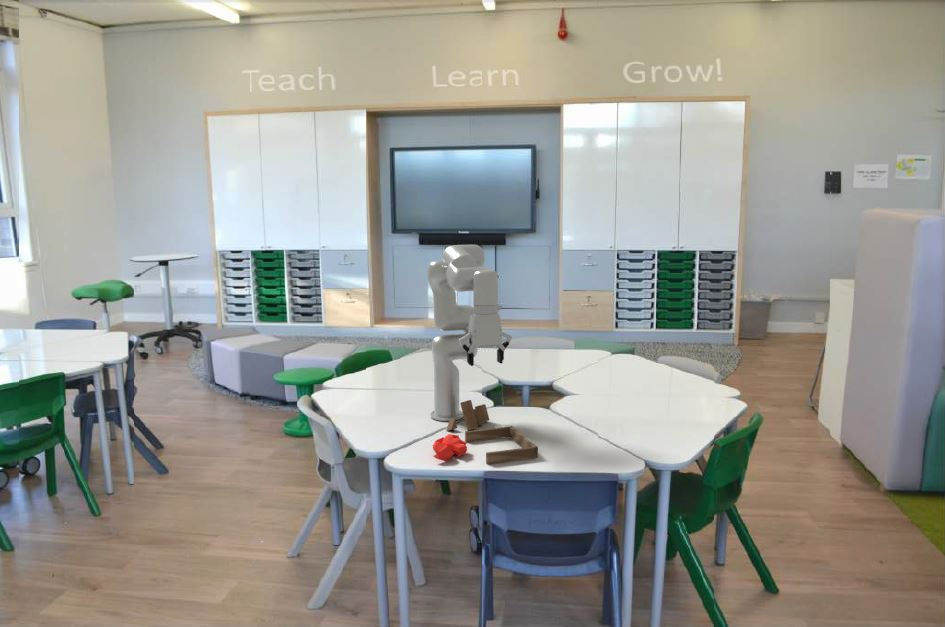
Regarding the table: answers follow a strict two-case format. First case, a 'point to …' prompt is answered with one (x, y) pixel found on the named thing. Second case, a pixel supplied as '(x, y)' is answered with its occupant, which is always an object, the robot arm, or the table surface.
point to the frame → (505, 455)
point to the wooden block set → (471, 416)
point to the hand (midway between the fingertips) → (485, 363)
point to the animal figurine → (449, 447)
